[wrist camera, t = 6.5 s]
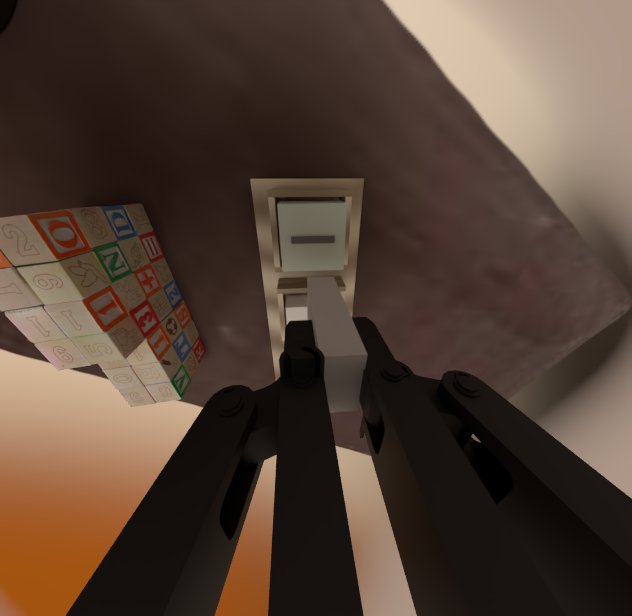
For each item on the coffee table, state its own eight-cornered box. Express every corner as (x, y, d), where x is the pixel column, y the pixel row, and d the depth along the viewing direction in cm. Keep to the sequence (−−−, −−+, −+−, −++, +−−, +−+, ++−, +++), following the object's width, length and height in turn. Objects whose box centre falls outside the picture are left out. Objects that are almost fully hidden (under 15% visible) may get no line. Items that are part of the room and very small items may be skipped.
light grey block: (279, 201, 22) (276, 204, 19) (339, 200, 22) (347, 203, 19) (284, 261, 25) (282, 272, 21) (337, 259, 25) (343, 270, 22)
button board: (252, 179, 24) (243, 177, 20) (360, 178, 25) (374, 177, 21) (276, 377, 39) (274, 402, 34) (344, 373, 40) (351, 396, 35)
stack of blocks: (208, 350, 35) (169, 424, 24) (168, 356, 35) (111, 432, 24) (141, 201, 25) (22, 213, 14) (84, 208, 24) (-82, 225, 14)
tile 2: (286, 293, 27) (285, 308, 23) (336, 291, 27) (341, 306, 24) (289, 334, 29) (288, 353, 26) (334, 332, 30) (339, 350, 27)
